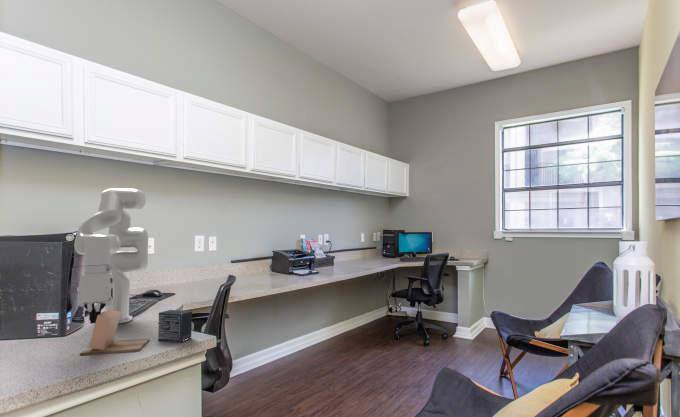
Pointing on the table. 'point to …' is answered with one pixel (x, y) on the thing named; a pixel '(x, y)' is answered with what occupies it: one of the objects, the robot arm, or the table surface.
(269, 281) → the table surface
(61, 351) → the table surface
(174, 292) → the table surface
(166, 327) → the small box
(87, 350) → the walnut board
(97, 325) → the tan wooden block
